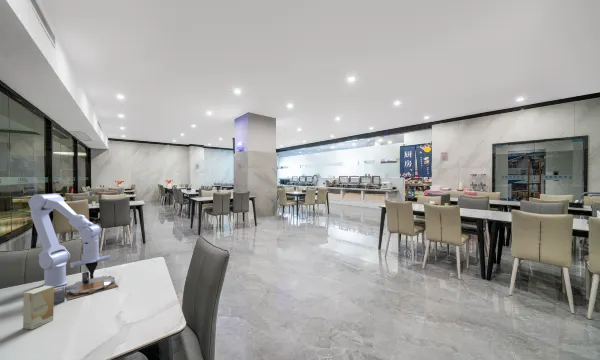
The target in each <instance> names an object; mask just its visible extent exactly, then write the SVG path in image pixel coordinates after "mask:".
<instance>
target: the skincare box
mask: <svg viewBox="0 0 600 360" xmlns="http://www.w3.org/2000/svg"><path fill="white" fill-rule="evenodd" d="M54 289H55V287H54V286H40V287H37V288H33V289H31V290H28V291H25V292H23V300H22V302H23V304H22V305H23V308H22V309H23V311H22V312H23V314H22V328H23V329H25V330H34V329H36V328H39V327H41V326H43V325H45V324H48V323H49V322H51V321H53V320H54Z"/></svg>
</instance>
